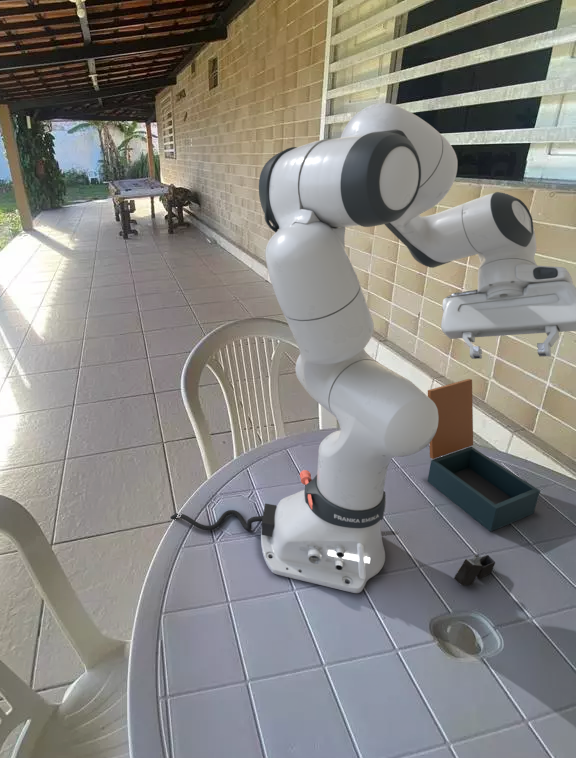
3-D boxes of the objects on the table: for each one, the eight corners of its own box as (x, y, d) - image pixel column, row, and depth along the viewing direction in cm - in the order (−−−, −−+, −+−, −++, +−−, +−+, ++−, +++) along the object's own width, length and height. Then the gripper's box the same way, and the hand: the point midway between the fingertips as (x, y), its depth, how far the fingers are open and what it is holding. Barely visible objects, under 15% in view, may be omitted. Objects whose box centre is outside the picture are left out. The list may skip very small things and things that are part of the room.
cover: (472, 379, 91) (468, 378, 92) (430, 391, 88) (427, 390, 89) (473, 445, 94) (470, 443, 95) (432, 459, 91) (429, 457, 91)
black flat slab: (519, 506, 84) (520, 503, 84) (489, 519, 82) (490, 516, 82) (468, 471, 94) (469, 468, 94) (440, 481, 92) (440, 478, 92)
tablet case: (533, 513, 84) (540, 490, 81) (490, 531, 80) (496, 508, 78) (466, 467, 97) (471, 446, 94) (427, 481, 93) (431, 460, 91)
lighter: (471, 576, 75) (486, 552, 74) (483, 586, 73) (498, 561, 72) (449, 575, 71) (465, 549, 70) (461, 585, 69) (477, 558, 68)
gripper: (437, 286, 82) (434, 352, 77) (579, 265, 67) (586, 345, 62) (448, 301, 86) (445, 365, 80) (584, 285, 71) (592, 361, 66)
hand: (508, 356), depth 71 cm, fingers open, 8 cm apart
